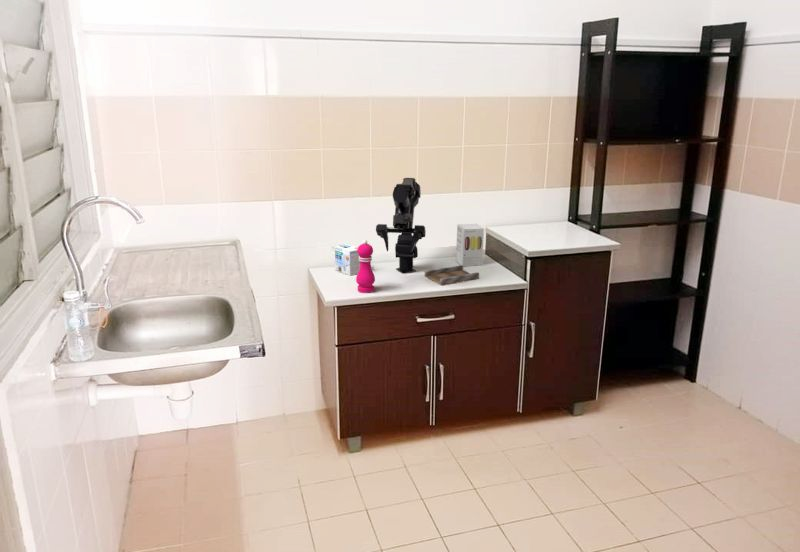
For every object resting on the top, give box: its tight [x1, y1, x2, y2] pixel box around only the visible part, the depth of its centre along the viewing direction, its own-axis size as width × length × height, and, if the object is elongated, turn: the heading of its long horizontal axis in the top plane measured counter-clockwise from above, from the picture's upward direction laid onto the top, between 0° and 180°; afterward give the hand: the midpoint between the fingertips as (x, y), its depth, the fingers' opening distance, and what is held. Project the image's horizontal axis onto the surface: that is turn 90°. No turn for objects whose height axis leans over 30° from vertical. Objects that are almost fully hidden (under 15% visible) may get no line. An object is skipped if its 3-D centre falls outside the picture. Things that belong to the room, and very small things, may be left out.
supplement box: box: [455, 223, 485, 267], centre depth 273 cm, size 10×9×17 cm
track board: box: [424, 264, 480, 286], centre depth 255 cm, size 18×13×2 cm
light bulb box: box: [334, 243, 360, 277], centre depth 261 cm, size 11×7×11 cm, turn 42°
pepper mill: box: [355, 239, 376, 294], centre depth 237 cm, size 7×7×20 cm
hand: (399, 251), depth 237 cm, fingers open, 9 cm apart
